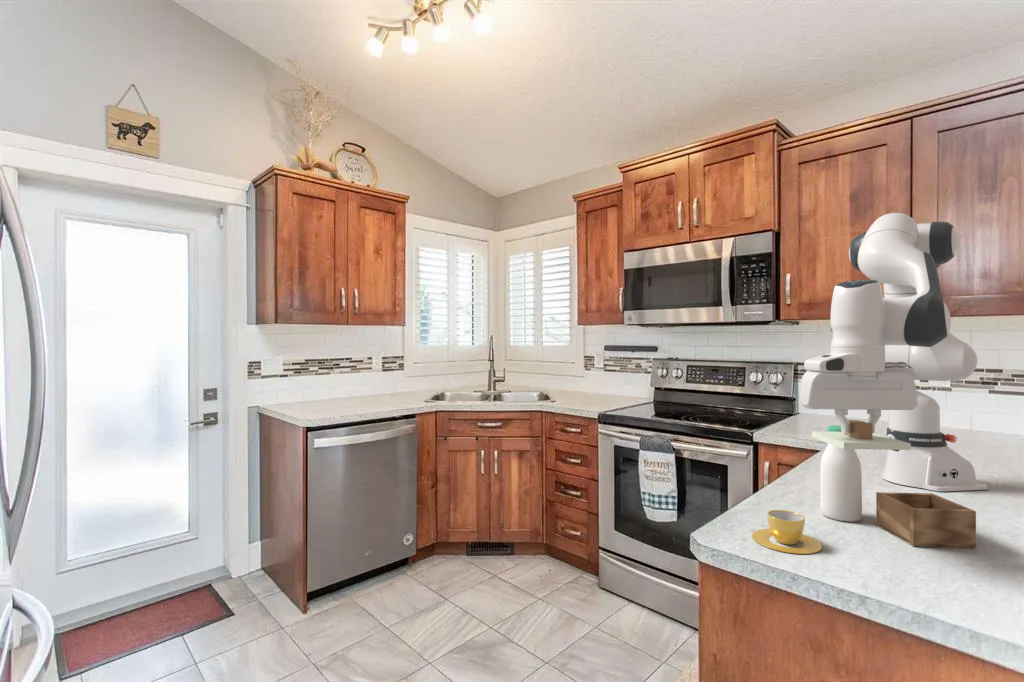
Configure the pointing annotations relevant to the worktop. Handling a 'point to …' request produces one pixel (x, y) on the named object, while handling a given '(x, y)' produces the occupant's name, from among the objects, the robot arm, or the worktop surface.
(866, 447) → the lid
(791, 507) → the worktop surface
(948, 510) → the box
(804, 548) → the cup
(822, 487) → the milk bottle
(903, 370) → the robot arm
